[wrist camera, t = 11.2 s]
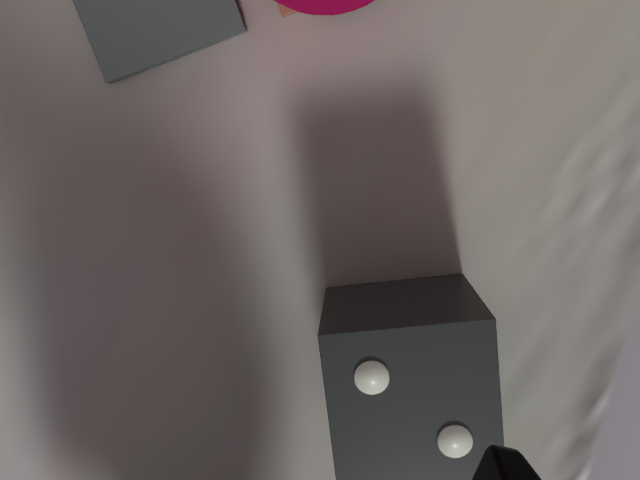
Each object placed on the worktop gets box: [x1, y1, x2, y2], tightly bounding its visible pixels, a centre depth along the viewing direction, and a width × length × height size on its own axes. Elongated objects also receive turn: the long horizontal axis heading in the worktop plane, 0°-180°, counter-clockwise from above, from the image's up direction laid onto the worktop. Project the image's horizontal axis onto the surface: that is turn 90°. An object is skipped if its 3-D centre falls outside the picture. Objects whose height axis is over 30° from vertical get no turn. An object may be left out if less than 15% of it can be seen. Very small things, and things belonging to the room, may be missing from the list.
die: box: [318, 274, 504, 480], centre depth 19 cm, size 5×5×5 cm
